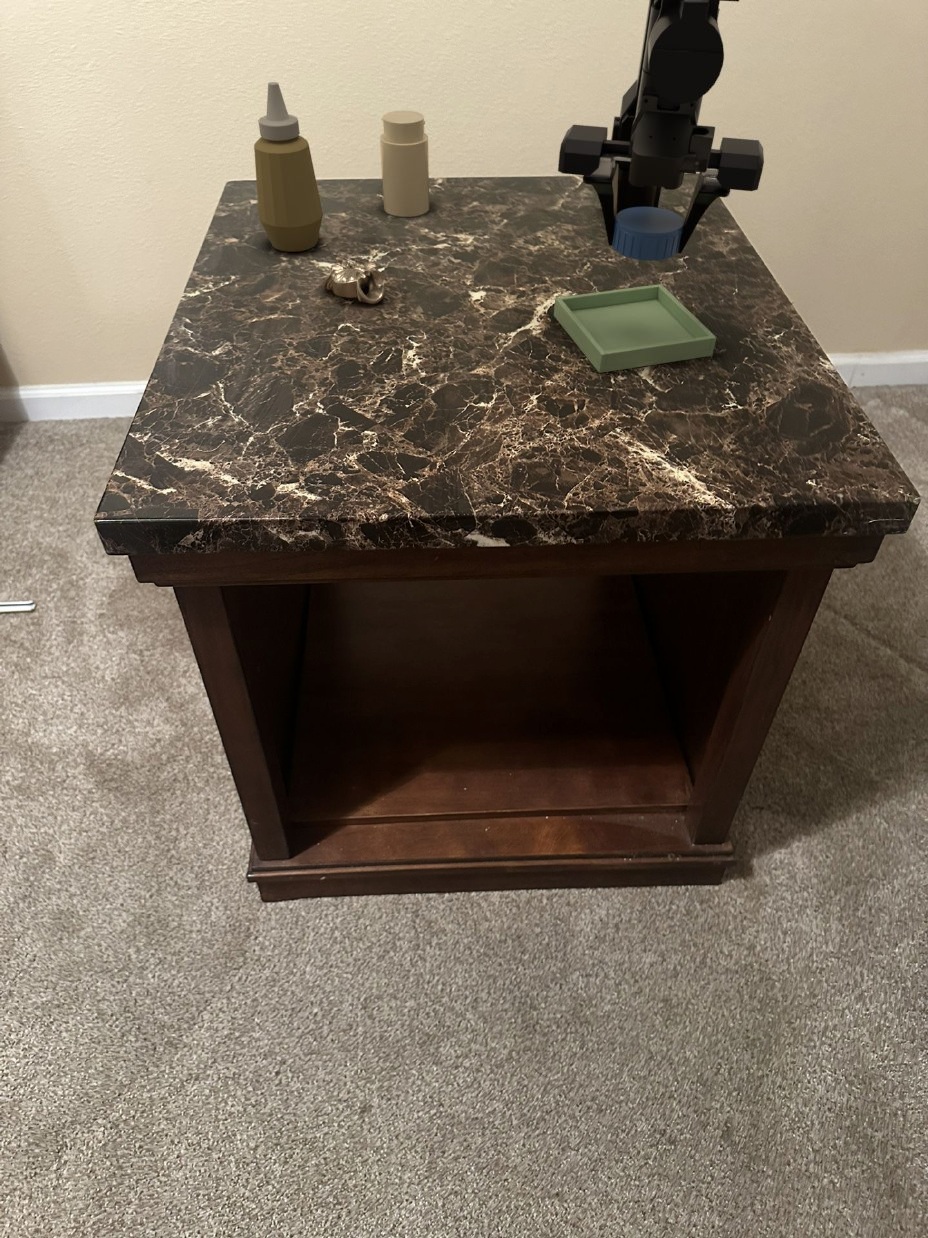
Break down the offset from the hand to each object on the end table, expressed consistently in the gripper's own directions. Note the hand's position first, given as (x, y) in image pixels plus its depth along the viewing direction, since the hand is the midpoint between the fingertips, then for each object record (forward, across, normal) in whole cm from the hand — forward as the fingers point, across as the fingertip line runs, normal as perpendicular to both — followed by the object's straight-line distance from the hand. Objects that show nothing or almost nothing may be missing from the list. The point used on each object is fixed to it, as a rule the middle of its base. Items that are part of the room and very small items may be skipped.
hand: (644, 248), depth 85 cm
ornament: (+10, -32, +2) cm, 34 cm away
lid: (-2, 0, 0) cm, 3 cm away
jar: (+10, -34, +29) cm, 46 cm away
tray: (+10, 0, 0) cm, 10 cm away
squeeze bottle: (+10, -45, +13) cm, 48 cm away
